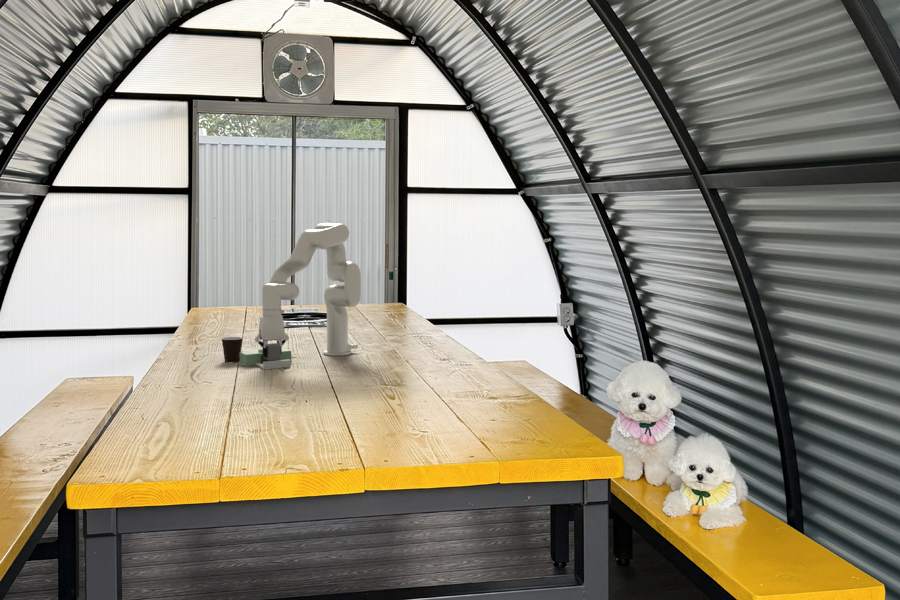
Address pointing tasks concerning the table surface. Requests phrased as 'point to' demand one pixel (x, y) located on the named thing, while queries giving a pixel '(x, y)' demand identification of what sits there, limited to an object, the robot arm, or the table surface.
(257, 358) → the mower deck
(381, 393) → the table surface
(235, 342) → the coffee mug
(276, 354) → the grey block
